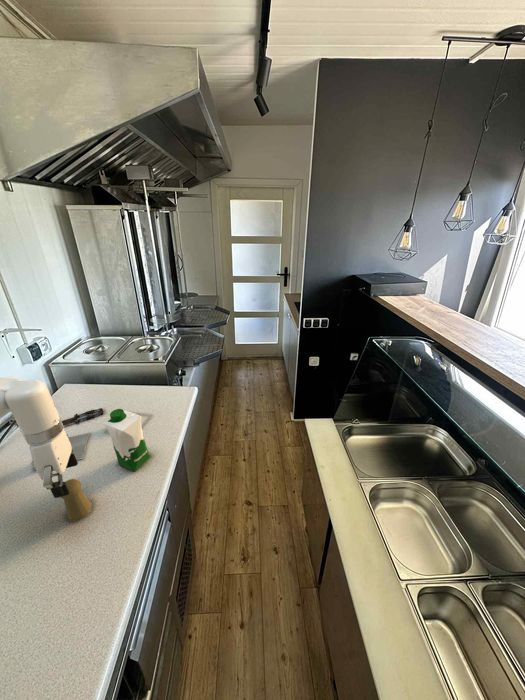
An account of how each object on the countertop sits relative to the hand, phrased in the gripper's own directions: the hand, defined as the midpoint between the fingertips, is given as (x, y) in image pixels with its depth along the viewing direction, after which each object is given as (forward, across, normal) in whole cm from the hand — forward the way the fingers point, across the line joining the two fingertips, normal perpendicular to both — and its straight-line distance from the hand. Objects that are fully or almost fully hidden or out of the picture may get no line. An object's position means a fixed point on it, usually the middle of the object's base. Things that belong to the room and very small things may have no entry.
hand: (67, 479), depth 75 cm
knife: (+13, -44, -12) cm, 48 cm away
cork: (+13, 0, 0) cm, 13 cm away
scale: (+12, -28, -10) cm, 32 cm away
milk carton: (+13, -14, +14) cm, 24 cm away
